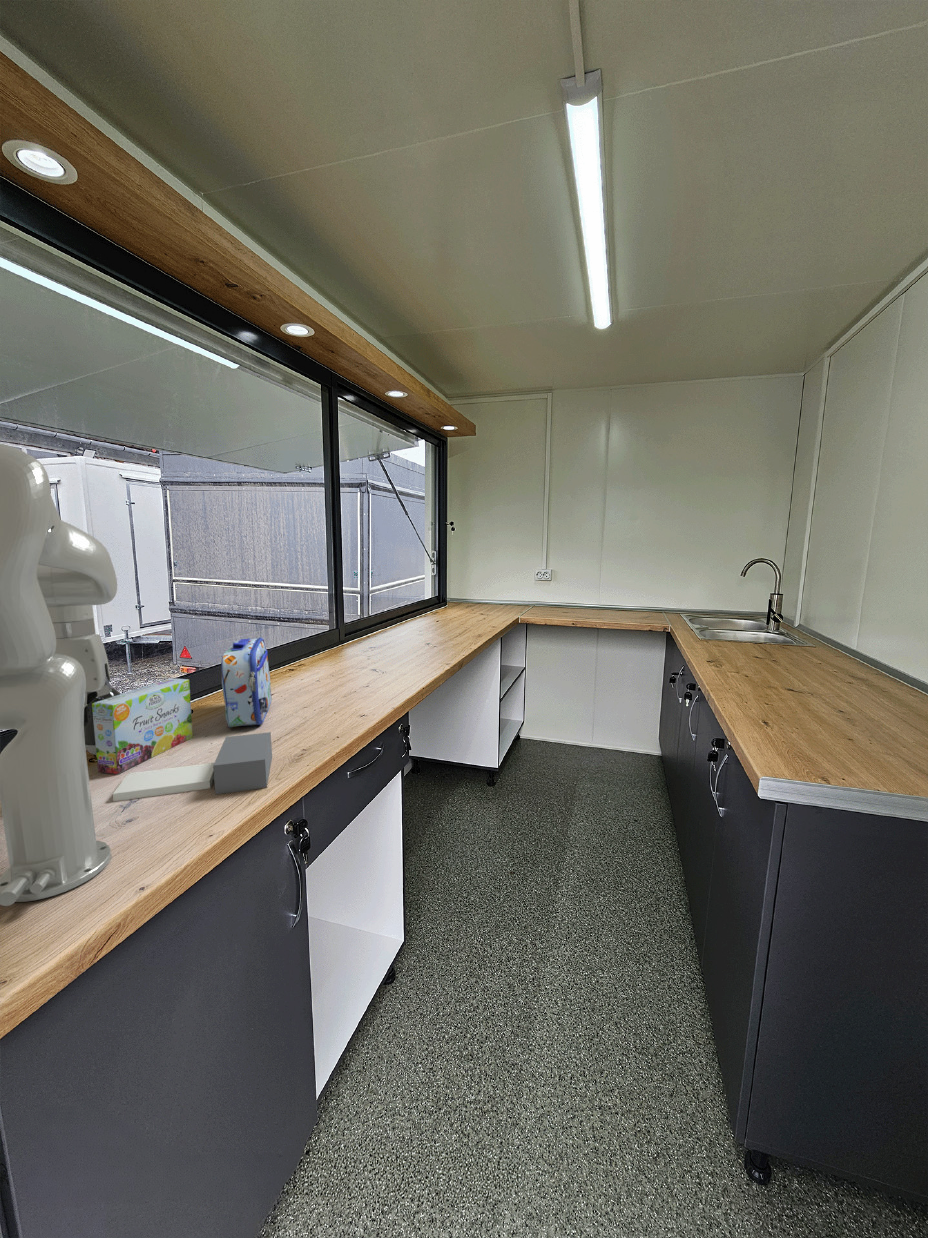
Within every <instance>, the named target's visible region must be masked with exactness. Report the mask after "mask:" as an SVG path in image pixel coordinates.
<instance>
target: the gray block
mask: <svg viewBox="0 0 928 1238" xmlns="http://www.w3.org/2000/svg"><path fill="white" fill-rule="evenodd" d="M271 733H272V732H261V733H252V734H243V735H242V734H239V735H232V736H226V737H225V738H224V740H223V743H222V744H221V748H220V749H219V752H218V753H217V756H216V758H215V761H214V762H213V763H214V765H213V769H214V780H213V781H214V782H213V783H214V792H215V793H214V795H221V794H230V793H235V792H245V791H251V790H252V791H253V790H259V789H264V788H265V789H266V788H268V784H269V776H270V772H271V767H272V761H273V750H272V749H273V748H272V747H273V746H272V745H273V744H272V734H271Z"/></svg>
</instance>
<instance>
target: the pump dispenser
mask: <svg viewBox="0 0 928 1238" xmlns="http://www.w3.org/2000/svg"><path fill="white" fill-rule="evenodd" d="M111 688H112V691H111V692H110V693H109V694H106V695H103V696H99V697H96V698H95V699H94V700H93V701H92V702H91V703H90V710H91V721H90V722H89V724H88V725H87V726H86V727H85V728H84V738H85V748H86V752H88V753H90V754H91V755H93V756H97V754H96V743H95V732H94V721H93V710H92V704H93V703H95V702H98V701H101V700H104V699H107V698H111V697H114V696H117V695H120V694H121V693H120V692H119V691H118V690H117V689H116V688H114V687H112V686H111Z"/></svg>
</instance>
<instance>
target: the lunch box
mask: <svg viewBox="0 0 928 1238" xmlns="http://www.w3.org/2000/svg"><path fill="white" fill-rule="evenodd" d="M268 654H269V653H268V650H267V649H266V644H265V639H264V638H263V637H258V638H241V639H236V640H235V641H234V642H233V643H232V645H230V646H229V648H228V649H227V650H226V651H224V652H223V655H222V657H221V661H220V662H221V664H220V665H221V666H220V667H221V687H222V693H223V694H222V695H223V701H224V706H225V707H224V709H225V713H224V714H225V721H226V723H227V726H228V728H233V727H244V726H256V725H258V726H261V725H262V724H263V723H264V721H265V719H266V716H267V714H268V712H269V711H270V707H271V703H272V700H273V699H272V688H271V675H270V667H269V660H268V659H269V658H268Z"/></svg>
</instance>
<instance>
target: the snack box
mask: <svg viewBox="0 0 928 1238" xmlns="http://www.w3.org/2000/svg"><path fill="white" fill-rule="evenodd" d="M92 710H93V721H94V732H95V743H96V754H97V755H96V765H97V772H98V773H103V774H112V775H120V774H121V773H124V772H126V771H128V770H129V769H131V768H134V767H136V766H137V765H139V764H142V763H144V762H146V761H149V760H150V759H153V758H154V757H156V756H158V755H160V754H162V753H165V752H166V751H168V750H170V749H173V748H175V747H177V746H179V745H181V744H183V743H185V742H187V741H189V740H191V739H193V738H194V737H193V734H194V733H193V723H192V721H193V720H192V719H193V718H192V717H193V716H192V704H191V689H190V679H188V678H187V679H186V678H172V677H171V678H168V679H164V680H161V681H158V682H155V683H152V684H149V685H145V686H143V687H139V688H136V689H134V690H130V691H126V692H124V693H120V695H117V696H114V697H111V698H107V699H104V700H101V701H98V702H95V703H93V704H92Z"/></svg>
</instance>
